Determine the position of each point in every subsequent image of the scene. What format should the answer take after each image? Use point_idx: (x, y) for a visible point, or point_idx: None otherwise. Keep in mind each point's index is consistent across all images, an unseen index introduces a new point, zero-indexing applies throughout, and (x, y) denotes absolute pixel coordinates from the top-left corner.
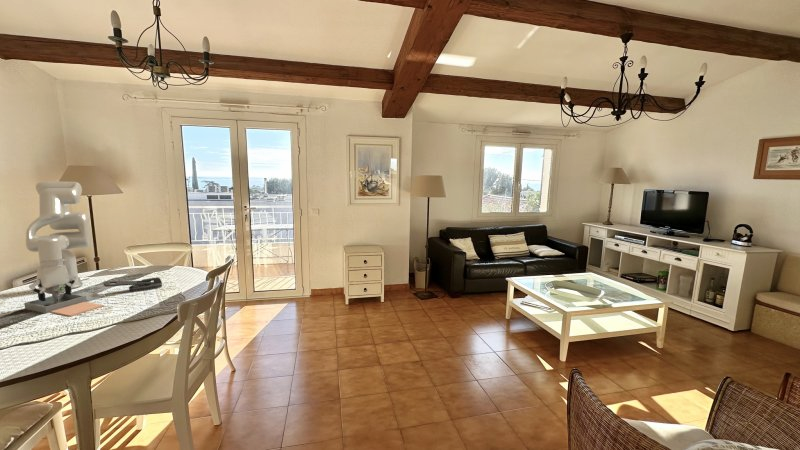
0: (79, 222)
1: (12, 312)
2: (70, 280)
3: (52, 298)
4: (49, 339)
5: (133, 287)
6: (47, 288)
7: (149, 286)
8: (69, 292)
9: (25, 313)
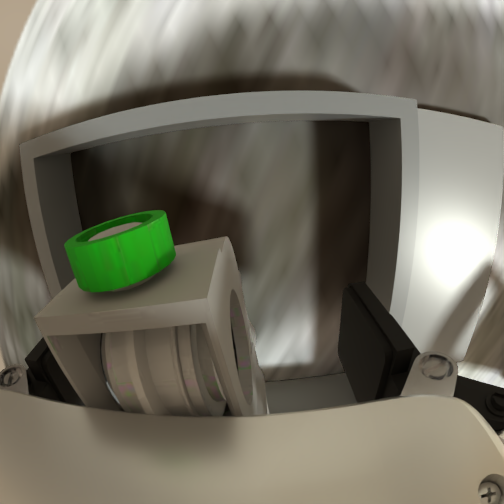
0: None
1: (5, 161)
2: (496, 424)
3: (258, 118)
4: None
5: None
6: (114, 334)
7: None
8: (348, 369)
9: (42, 275)
